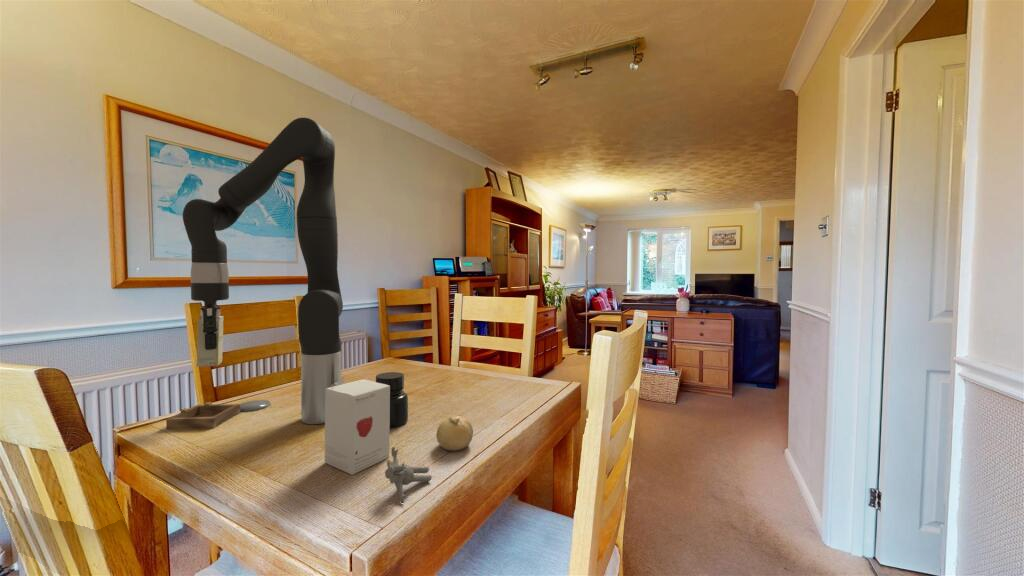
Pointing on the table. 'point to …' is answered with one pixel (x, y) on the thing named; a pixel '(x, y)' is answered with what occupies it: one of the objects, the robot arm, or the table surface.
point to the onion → (454, 433)
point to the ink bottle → (395, 397)
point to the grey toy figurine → (404, 474)
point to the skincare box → (213, 355)
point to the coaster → (254, 405)
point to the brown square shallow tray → (190, 420)
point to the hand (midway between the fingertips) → (211, 346)
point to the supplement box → (357, 425)
